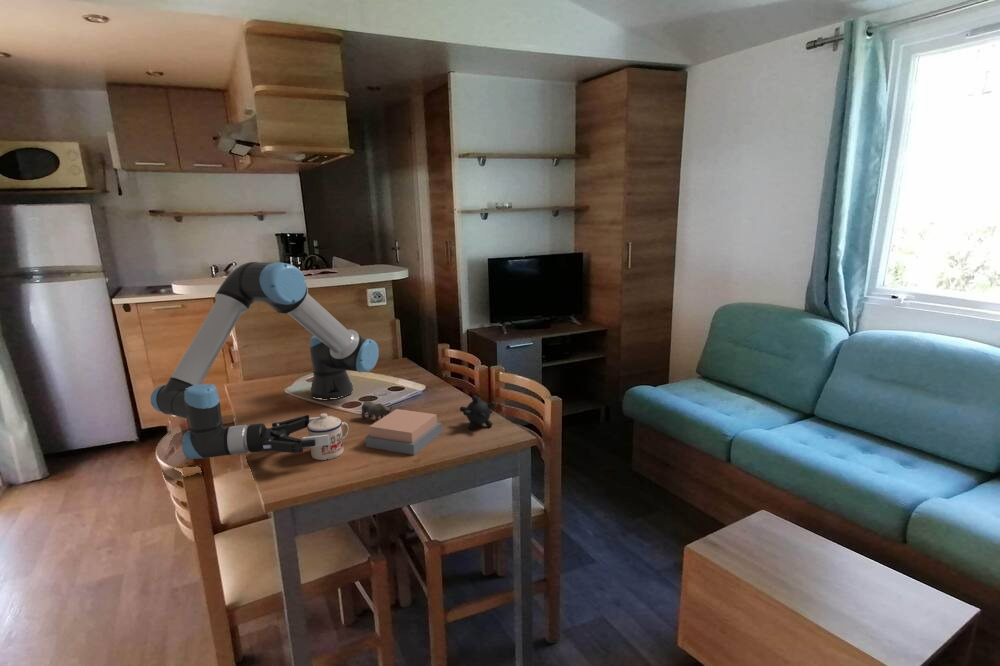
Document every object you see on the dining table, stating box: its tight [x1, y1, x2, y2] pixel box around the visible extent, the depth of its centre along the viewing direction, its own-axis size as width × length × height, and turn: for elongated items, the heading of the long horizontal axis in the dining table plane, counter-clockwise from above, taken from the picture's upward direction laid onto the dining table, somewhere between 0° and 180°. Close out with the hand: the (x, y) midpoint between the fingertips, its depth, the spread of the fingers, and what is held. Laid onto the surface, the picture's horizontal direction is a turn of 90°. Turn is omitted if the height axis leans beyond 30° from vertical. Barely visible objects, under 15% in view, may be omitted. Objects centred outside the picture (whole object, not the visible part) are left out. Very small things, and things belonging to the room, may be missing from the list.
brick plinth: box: [364, 408, 443, 456], centre depth 154 cm, size 16×16×6 cm
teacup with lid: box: [306, 412, 350, 461], centre depth 147 cm, size 12×9×12 cm
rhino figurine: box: [360, 400, 393, 423], centre depth 169 cm, size 4×14×6 cm, turn 63°
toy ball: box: [459, 394, 496, 431], centre depth 162 cm, size 11×11×12 cm
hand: (331, 429), depth 146 cm, fingers open, 13 cm apart
